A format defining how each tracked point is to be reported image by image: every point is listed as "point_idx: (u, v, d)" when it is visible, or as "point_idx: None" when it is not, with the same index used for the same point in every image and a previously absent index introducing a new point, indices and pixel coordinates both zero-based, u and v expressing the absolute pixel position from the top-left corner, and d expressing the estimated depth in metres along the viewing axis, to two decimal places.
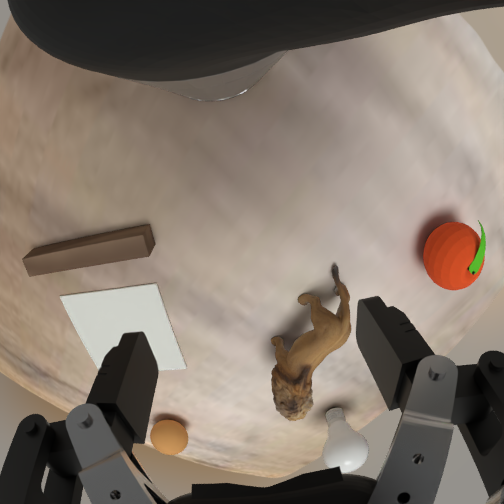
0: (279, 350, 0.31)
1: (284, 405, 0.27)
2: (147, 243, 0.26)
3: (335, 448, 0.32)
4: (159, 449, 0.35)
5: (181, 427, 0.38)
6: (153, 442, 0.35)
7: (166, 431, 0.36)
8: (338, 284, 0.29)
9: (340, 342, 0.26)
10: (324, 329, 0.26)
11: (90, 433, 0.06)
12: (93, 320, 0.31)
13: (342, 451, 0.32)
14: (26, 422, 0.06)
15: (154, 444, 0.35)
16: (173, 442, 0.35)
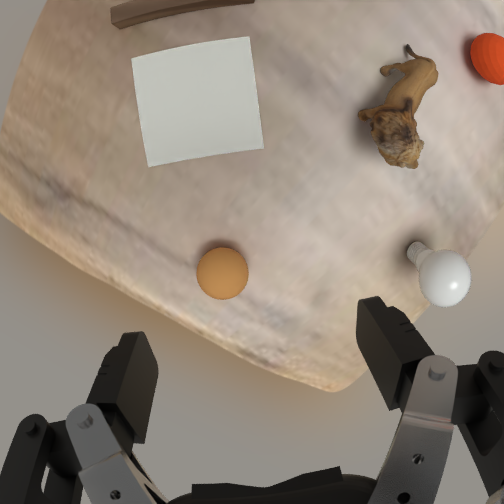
0: (372, 108, 0.27)
1: (397, 134, 0.23)
2: None
3: (438, 260, 0.28)
4: (210, 282, 0.31)
5: None
6: (201, 274, 0.31)
7: (223, 253, 0.31)
8: (414, 53, 0.25)
9: (433, 75, 0.21)
10: (416, 63, 0.22)
11: (90, 433, 0.06)
12: (164, 82, 0.27)
13: (448, 261, 0.27)
14: (26, 422, 0.06)
15: (204, 274, 0.31)
16: (232, 267, 0.31)
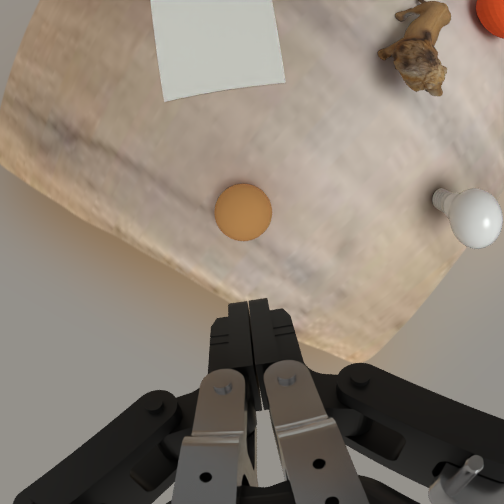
0: (392, 44, 0.23)
1: (422, 57, 0.19)
2: None
3: (469, 195, 0.25)
4: (231, 217, 0.27)
5: None
6: (221, 209, 0.28)
7: (245, 186, 0.28)
8: (425, 2, 0.21)
9: (447, 13, 0.18)
10: (430, 3, 0.18)
11: (221, 402, 0.07)
12: (183, 20, 0.24)
13: (479, 196, 0.24)
14: (152, 398, 0.07)
15: (224, 209, 0.28)
16: (256, 200, 0.28)
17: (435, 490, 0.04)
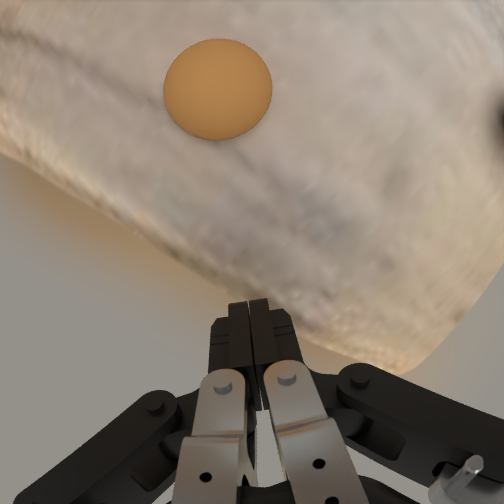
0: None
1: None
2: None
3: None
4: (189, 76, 0.12)
5: None
6: (172, 70, 0.12)
7: None
8: None
9: None
10: None
11: (221, 402, 0.07)
12: None
13: None
14: (152, 398, 0.07)
15: (178, 67, 0.12)
16: (240, 50, 0.12)
17: (435, 490, 0.04)
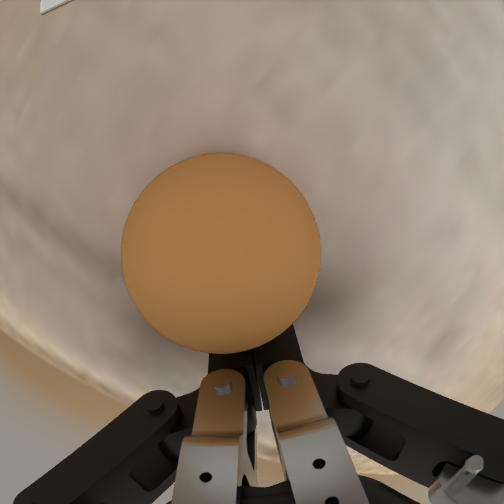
0: None
1: None
2: None
3: None
4: (155, 227, 0.06)
5: None
6: (131, 213, 0.07)
7: None
8: None
9: None
10: None
11: (221, 402, 0.07)
12: None
13: None
14: (152, 398, 0.07)
15: (138, 207, 0.07)
16: (261, 173, 0.07)
17: (435, 490, 0.04)
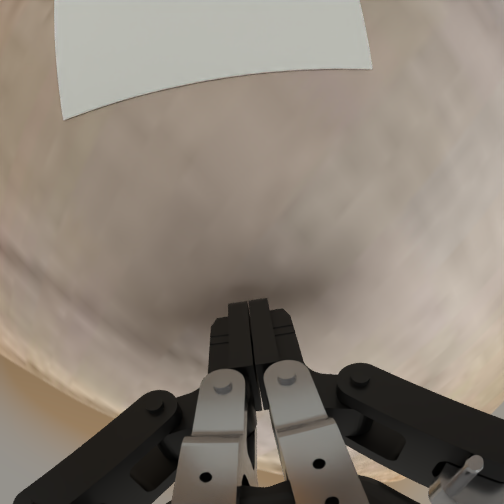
0: None
1: None
2: None
3: None
4: None
5: None
6: None
7: None
8: None
9: None
10: None
11: (221, 402, 0.07)
12: None
13: None
14: (152, 398, 0.07)
15: None
16: None
17: (435, 490, 0.04)
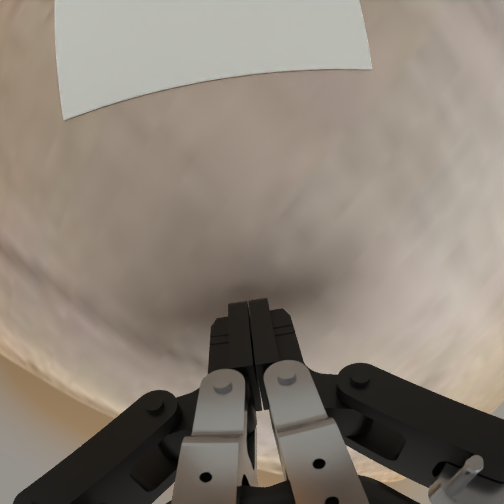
0: None
1: None
2: None
3: None
4: None
5: None
6: None
7: None
8: None
9: None
10: None
11: (221, 402, 0.07)
12: None
13: None
14: (152, 398, 0.07)
15: None
16: None
17: (435, 490, 0.04)
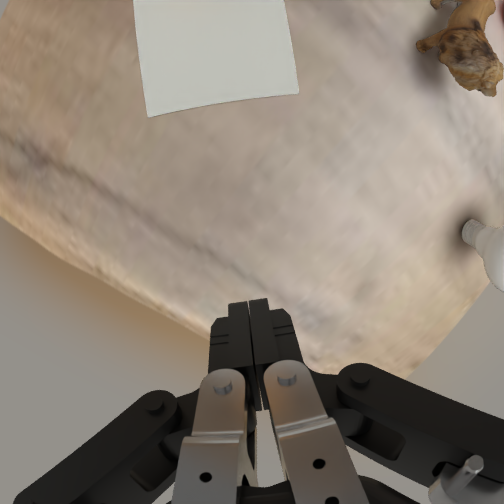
0: (435, 34, 0.18)
1: (478, 50, 0.13)
2: None
3: None
4: None
5: None
6: None
7: None
8: None
9: (492, 2, 0.12)
10: None
11: (221, 402, 0.07)
12: (172, 15, 0.18)
13: None
14: (152, 398, 0.07)
15: None
16: None
17: (435, 490, 0.04)
